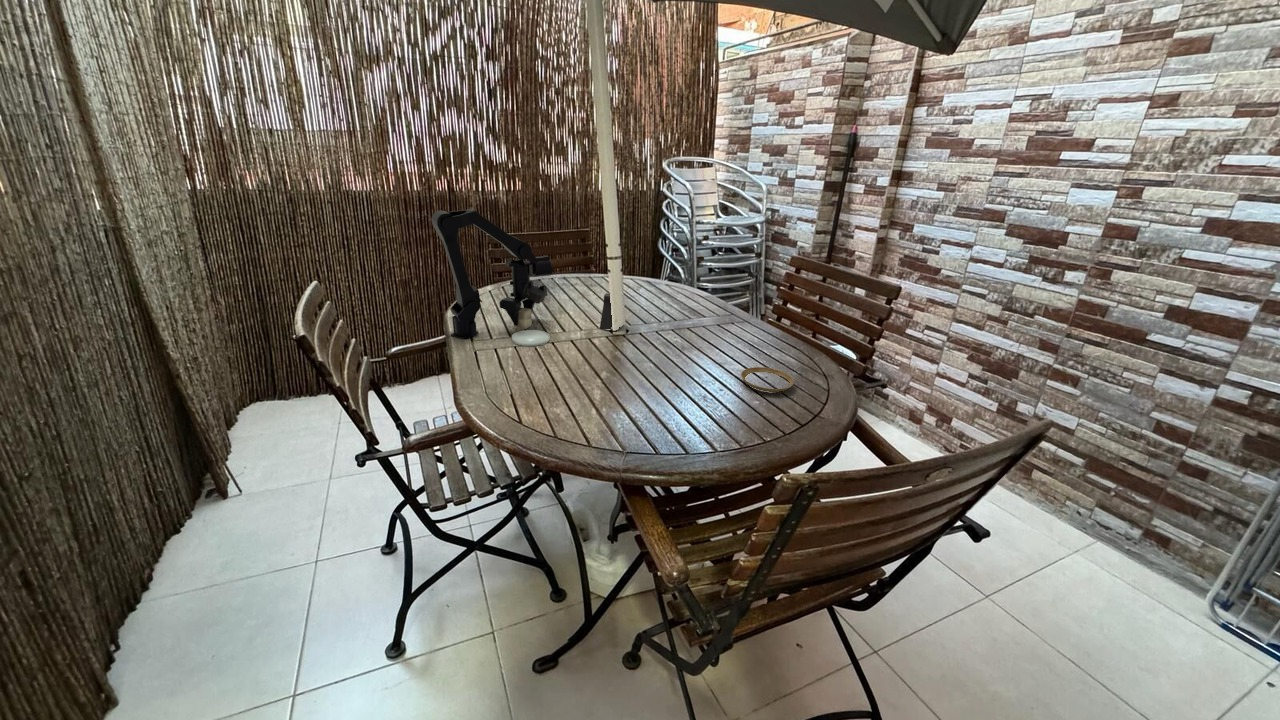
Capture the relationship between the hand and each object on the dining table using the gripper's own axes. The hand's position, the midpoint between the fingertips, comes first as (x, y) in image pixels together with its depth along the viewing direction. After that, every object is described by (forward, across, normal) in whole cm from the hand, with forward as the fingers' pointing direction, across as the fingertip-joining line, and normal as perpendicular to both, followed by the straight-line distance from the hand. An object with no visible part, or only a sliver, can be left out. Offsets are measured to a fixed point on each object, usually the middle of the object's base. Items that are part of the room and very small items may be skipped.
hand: (522, 322), depth 178 cm
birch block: (+2, 0, 0) cm, 2 cm away
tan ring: (+2, -10, -85) cm, 86 cm away
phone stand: (+2, +14, -28) cm, 31 cm away
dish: (+2, -10, -9) cm, 14 cm away
